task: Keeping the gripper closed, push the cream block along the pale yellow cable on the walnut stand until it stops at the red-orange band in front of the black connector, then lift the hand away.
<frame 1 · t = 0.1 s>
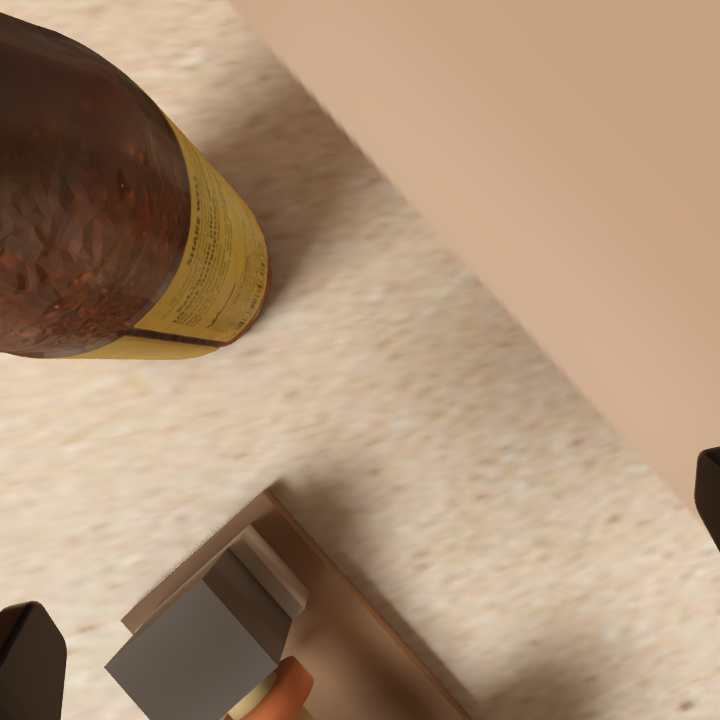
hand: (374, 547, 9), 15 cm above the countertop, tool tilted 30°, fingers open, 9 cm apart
sauce bottle: (186, 277, 24), on the countertop
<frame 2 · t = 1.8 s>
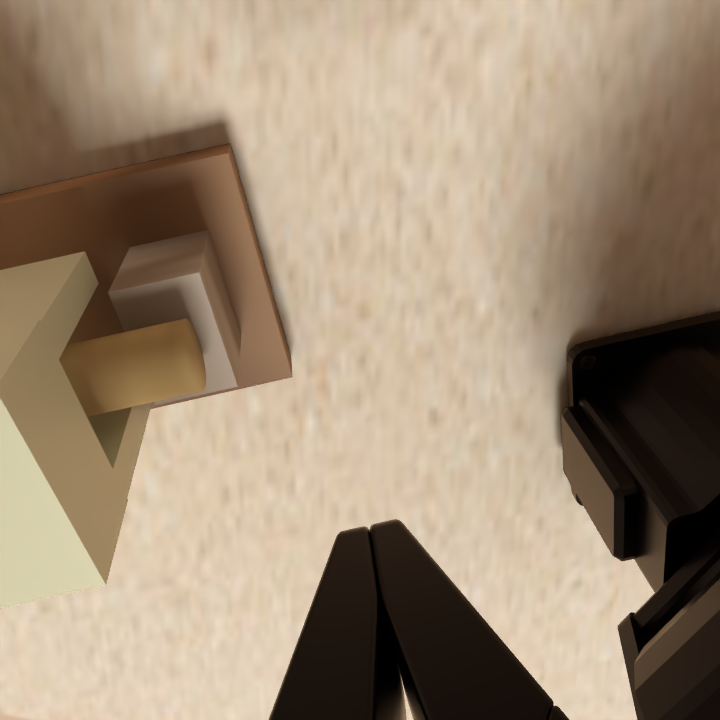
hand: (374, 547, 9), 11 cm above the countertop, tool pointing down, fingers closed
cream block: (7, 420, 14), point 6 cm above the countertop, slide at 0.0 cm
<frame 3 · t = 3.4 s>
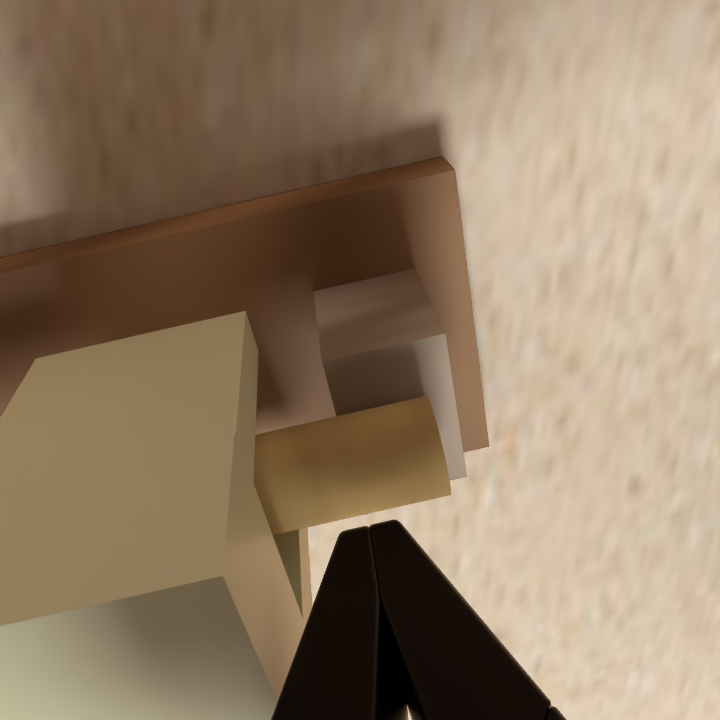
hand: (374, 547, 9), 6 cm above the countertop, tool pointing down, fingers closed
cable stand: (78, 390, 15), on the countertop
cream block: (159, 552, 10), point 5 cm above the countertop, slide at 0.6 cm, touching gripper
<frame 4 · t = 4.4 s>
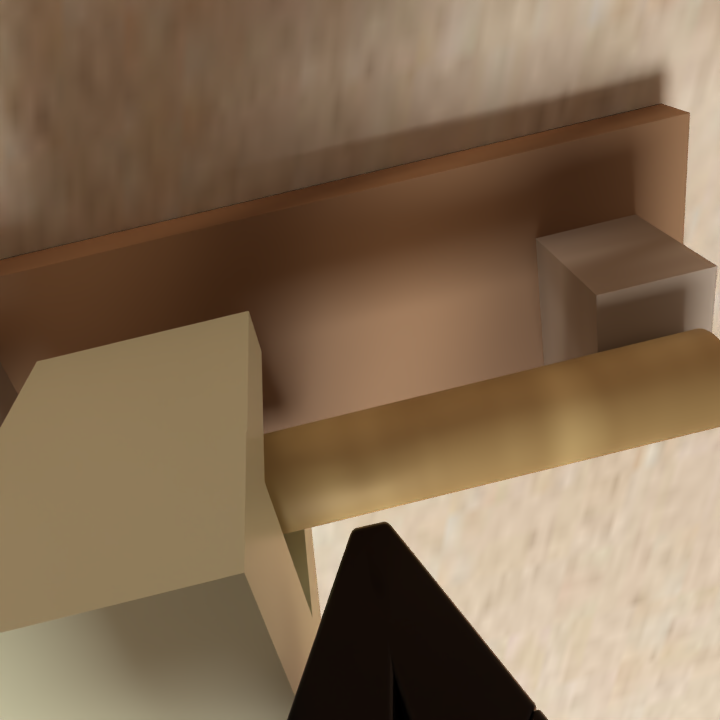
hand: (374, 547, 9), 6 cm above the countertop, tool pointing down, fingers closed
cable stand: (276, 346, 15), on the countertop
cream block: (167, 554, 10), point 5 cm above the countertop, slide at 5.0 cm, touching cable stand, gripper
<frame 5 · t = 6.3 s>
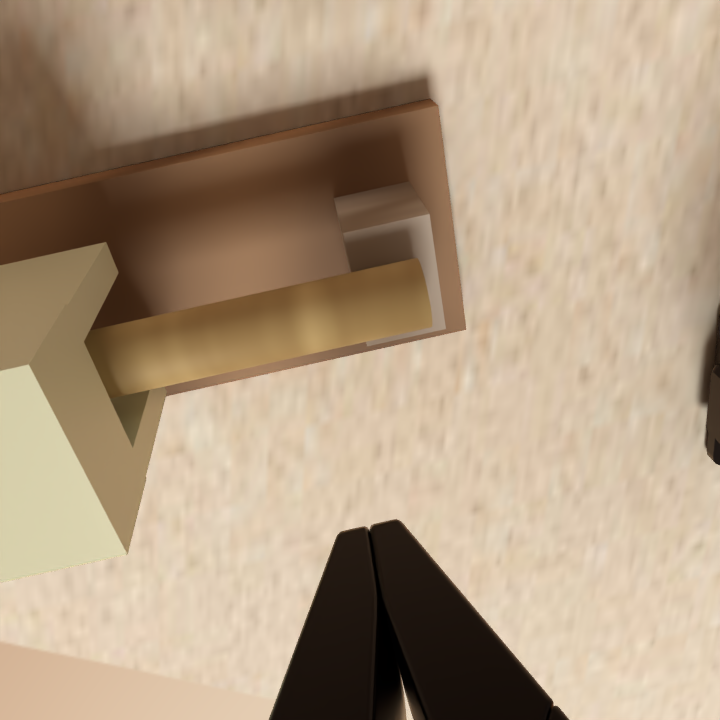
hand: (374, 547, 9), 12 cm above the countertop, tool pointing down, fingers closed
cable stand: (152, 280, 19), on the countertop
cream block: (33, 400, 15), point 6 cm above the countertop, slide at 5.0 cm
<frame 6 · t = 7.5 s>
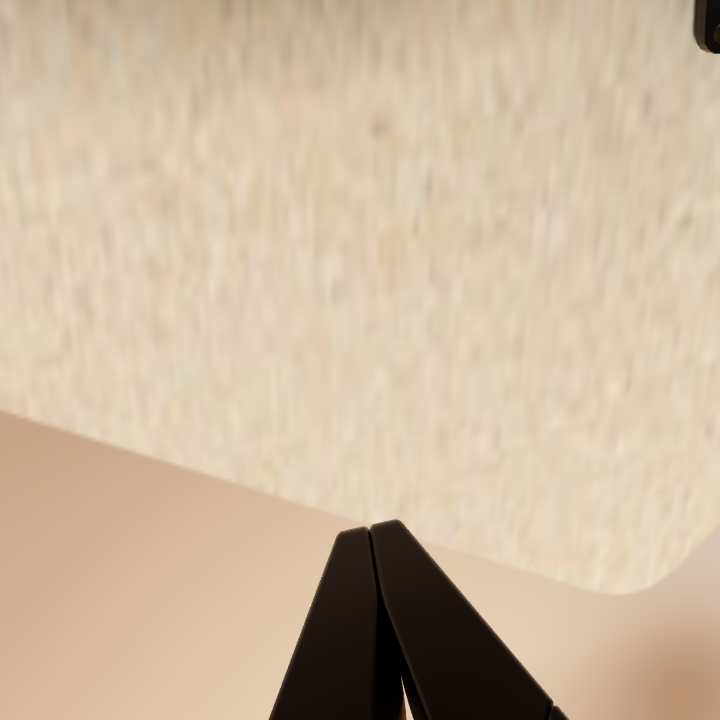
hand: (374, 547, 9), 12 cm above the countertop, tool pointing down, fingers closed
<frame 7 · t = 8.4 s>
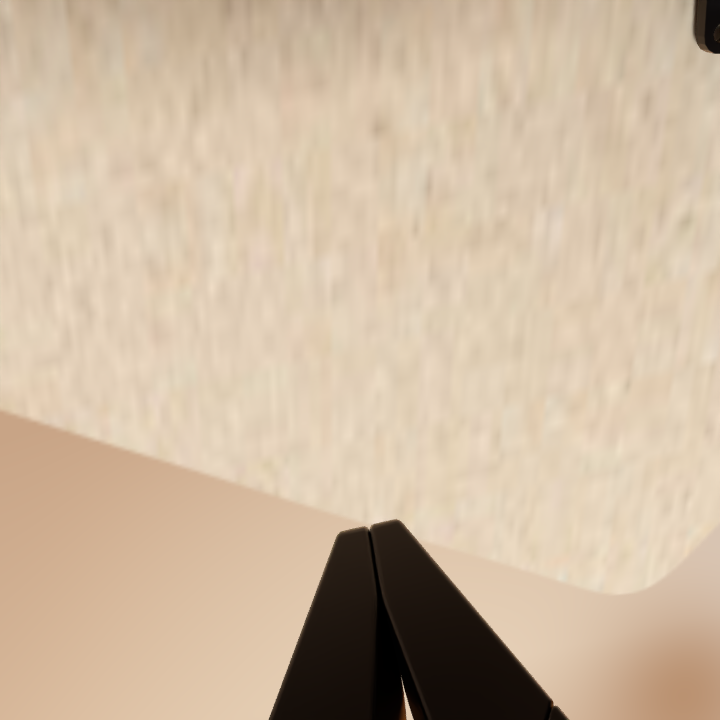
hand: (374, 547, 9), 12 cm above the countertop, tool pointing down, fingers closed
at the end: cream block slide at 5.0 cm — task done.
